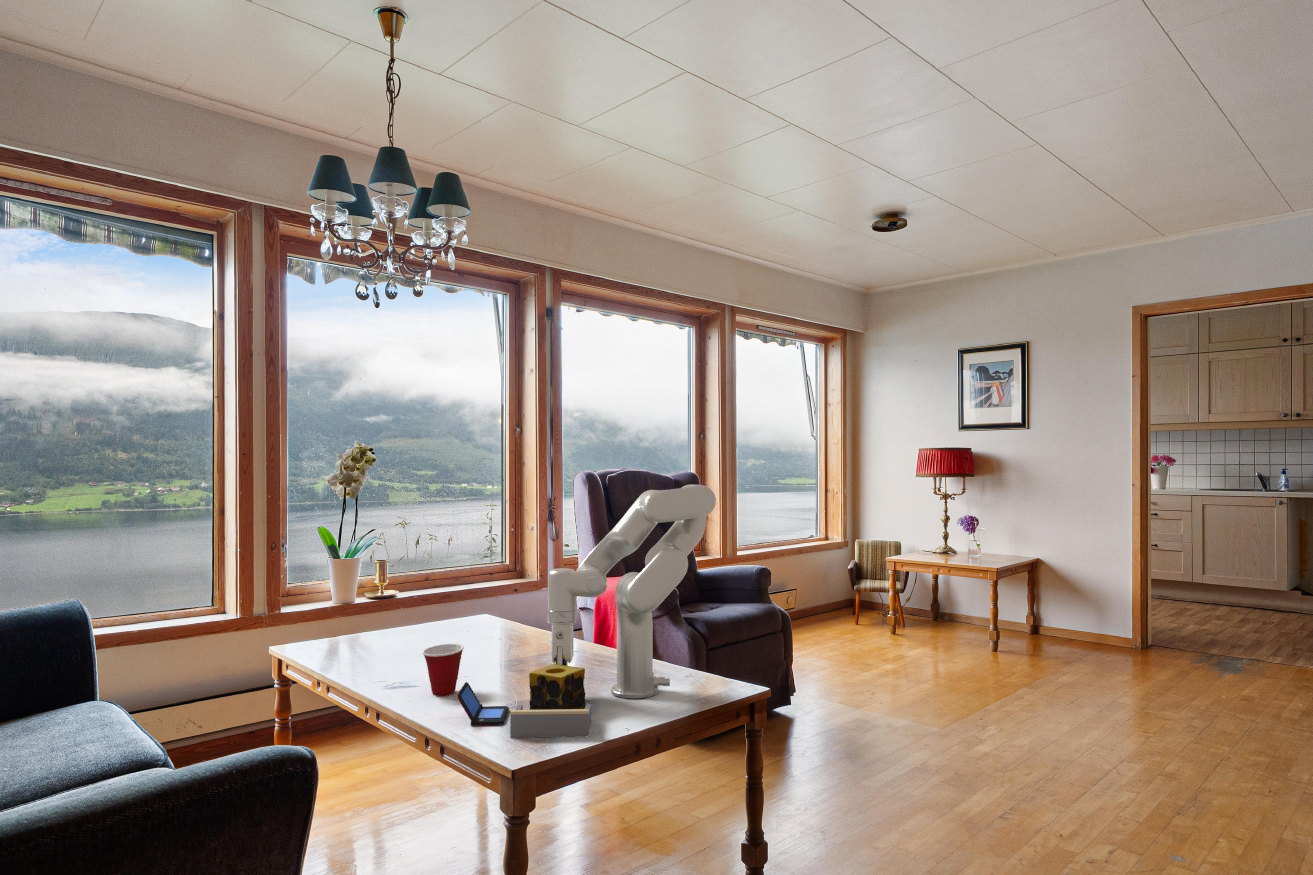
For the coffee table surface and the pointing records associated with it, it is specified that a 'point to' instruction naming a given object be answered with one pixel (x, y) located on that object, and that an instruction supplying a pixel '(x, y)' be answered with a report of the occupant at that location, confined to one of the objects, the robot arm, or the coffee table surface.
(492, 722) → the handheld game console
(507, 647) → the coffee table surface
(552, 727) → the holder
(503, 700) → the coffee table surface
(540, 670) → the yellow and black cube
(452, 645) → the plastic cup
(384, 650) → the coffee table surface
